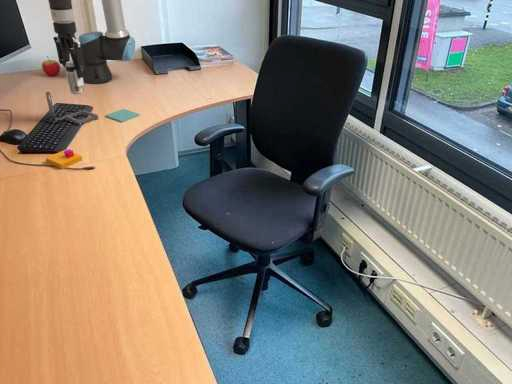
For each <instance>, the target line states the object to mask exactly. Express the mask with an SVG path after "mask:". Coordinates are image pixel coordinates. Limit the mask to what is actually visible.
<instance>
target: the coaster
mask: <svg viewBox="0 0 512 384" xmlns="http://www.w3.org/2000/svg"><path fill="white" fill-rule="evenodd" d="M139 116H140V117H141V114H140V113H138V112H134V111H132V110H129V109H127V108H126V109H125V108H122V109H119V110H115V111H113V112H111V113H107V114H105V115H104V117H105V118H108V119H111V120H113V121H117V122H120V123H124V122H127V121H129V120H132V119H134V118H137V117H139Z"/></svg>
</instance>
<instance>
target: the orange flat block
mask: <svg viewBox="0 0 512 384" xmlns="http://www.w3.org/2000/svg"><path fill="white" fill-rule="evenodd" d="M45 161H46V163H47V164H49V165H51V166H53V167H56V168H58V169H60V170H63V169H65V168H68V167H70V166H72V165H74V164H77V163H79V162H82V161H83V157H82V155H80V154H78V153H76V152H74V150H71V149H69V148H68V149H63V150H62V151H59V152H57V153H54V154H52V155H51V154H50V155H49V156H47V157H45Z"/></svg>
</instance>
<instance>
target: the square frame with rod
mask: <svg viewBox="0 0 512 384" xmlns="http://www.w3.org/2000/svg"><path fill="white" fill-rule="evenodd" d="M45 96H46V101H47V105H48V109H49V114H50V115H49V116H50V119H55V120H57V121H58V120H62V121H64V120H63V119H65V120H66V119H69V121H70V122H73V123H76V124H78V126H83V123H84V124H85V123H87V122H89V121H91V120H92V121H93V120H96V121H97V120H99V115H98V114H96V113H93V112H90V111H88V110H84V109H82V110H80V111H76V112H73V113H71V114H68V115H64V116H62V117H57V116H56V113H55V109H54V105H53V100H52V96H51V92H50V91H46V92H45ZM82 114H84V115H83V116H88V117H84V118H82V119H77V118H75V117H78V116H80V115H81V116H82ZM77 115H78V116H77ZM73 116H75V117H73ZM58 118H59V119H58Z"/></svg>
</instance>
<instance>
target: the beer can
mask: <svg viewBox="0 0 512 384" xmlns="http://www.w3.org/2000/svg"><path fill="white" fill-rule="evenodd" d="M65 66H66V71H67V76H68V81H69V89H70V93H71V94H73V95H81V94H83V93H84V92H85V91H84V87H83V86H84V85H83V86H79V87H77V84H76V79H75V74H74V69H75V67H74V64H73V61H72V60H70V61H69V62H66V65H65Z"/></svg>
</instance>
